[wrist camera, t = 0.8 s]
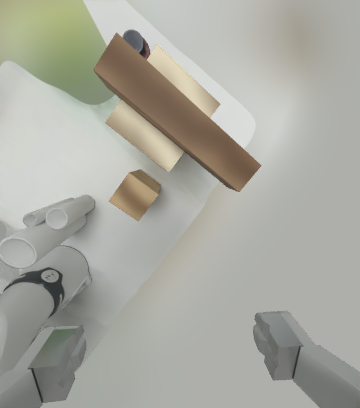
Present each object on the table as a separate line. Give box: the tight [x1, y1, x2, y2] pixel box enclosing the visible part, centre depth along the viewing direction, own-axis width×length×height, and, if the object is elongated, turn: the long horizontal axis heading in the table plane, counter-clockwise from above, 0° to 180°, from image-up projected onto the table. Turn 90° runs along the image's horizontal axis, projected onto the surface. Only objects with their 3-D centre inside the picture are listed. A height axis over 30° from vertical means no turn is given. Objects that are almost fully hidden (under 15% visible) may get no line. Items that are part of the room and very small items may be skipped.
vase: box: [0, 195, 95, 269], centre depth 40 cm, size 11×7×20 cm, turn 151°
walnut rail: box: [94, 33, 261, 192], centre depth 21 cm, size 4×20×4 cm, turn 52°
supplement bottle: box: [122, 30, 150, 60], centre depth 37 cm, size 6×6×11 cm
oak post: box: [109, 170, 160, 221], centre depth 42 cm, size 7×7×16 cm
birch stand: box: [105, 44, 220, 172], centre depth 34 cm, size 11×10×26 cm
